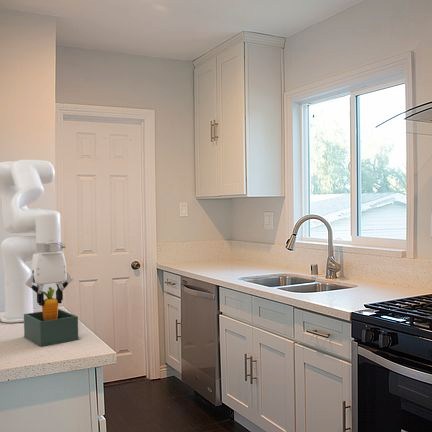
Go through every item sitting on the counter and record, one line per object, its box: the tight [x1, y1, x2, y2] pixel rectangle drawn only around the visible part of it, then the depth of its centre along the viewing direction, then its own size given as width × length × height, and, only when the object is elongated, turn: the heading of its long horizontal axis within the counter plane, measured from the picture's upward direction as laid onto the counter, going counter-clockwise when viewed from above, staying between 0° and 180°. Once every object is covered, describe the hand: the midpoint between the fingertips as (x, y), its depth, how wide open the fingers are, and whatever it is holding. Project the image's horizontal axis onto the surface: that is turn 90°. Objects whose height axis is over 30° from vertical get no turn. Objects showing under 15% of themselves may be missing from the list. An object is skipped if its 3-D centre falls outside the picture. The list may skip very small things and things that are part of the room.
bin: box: [23, 308, 79, 347], centre depth 177 cm, size 17×12×8 cm
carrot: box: [41, 286, 59, 321], centre depth 177 cm, size 5×5×15 cm
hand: (50, 303), depth 177 cm, fingers closed on carrot, 4 cm apart
